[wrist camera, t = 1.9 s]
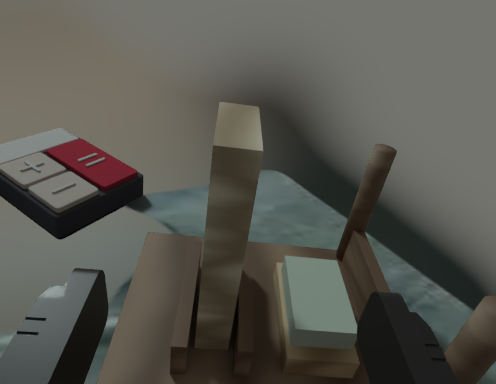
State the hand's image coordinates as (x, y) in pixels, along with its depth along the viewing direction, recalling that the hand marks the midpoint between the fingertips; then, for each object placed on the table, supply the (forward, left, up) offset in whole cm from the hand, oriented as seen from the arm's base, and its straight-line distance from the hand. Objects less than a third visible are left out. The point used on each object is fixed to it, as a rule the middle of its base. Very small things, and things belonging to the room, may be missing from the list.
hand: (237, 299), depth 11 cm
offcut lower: (+7, +11, -15) cm, 20 cm away
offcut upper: (+7, +11, -13) cm, 19 cm away
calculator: (-19, +28, -17) cm, 38 cm away
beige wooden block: (0, +11, -15) cm, 19 cm away
